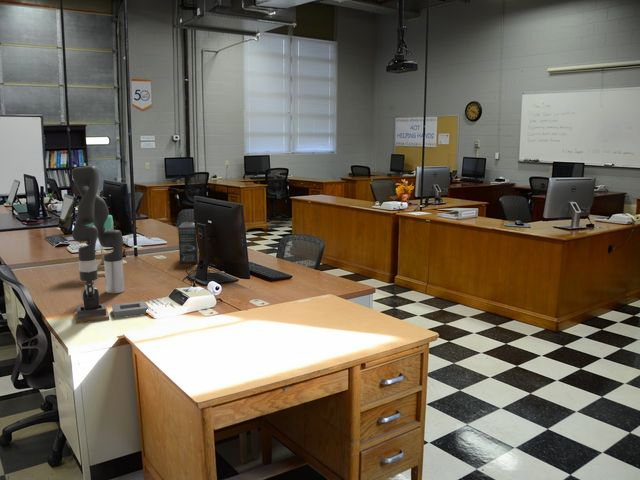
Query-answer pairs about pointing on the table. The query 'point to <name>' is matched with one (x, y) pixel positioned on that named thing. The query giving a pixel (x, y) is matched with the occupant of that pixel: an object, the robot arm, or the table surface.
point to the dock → (129, 309)
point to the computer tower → (188, 243)
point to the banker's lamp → (108, 226)
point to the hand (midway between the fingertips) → (91, 305)
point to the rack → (91, 314)
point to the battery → (96, 299)
